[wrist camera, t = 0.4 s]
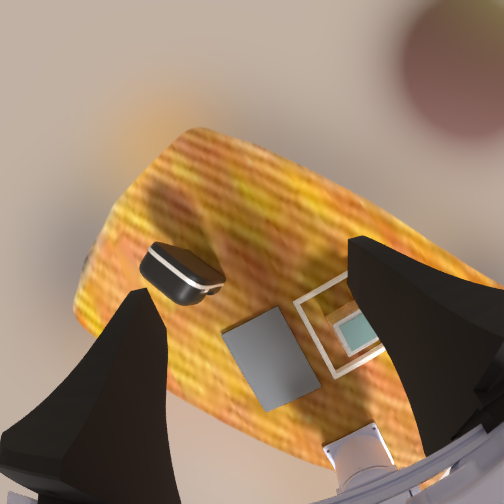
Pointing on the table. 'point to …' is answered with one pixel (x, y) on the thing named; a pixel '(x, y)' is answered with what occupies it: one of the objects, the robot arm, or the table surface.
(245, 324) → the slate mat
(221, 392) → the table surface
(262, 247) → the table surface
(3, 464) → the robot arm
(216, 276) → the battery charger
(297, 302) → the white square frame
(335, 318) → the block
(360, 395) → the table surface
